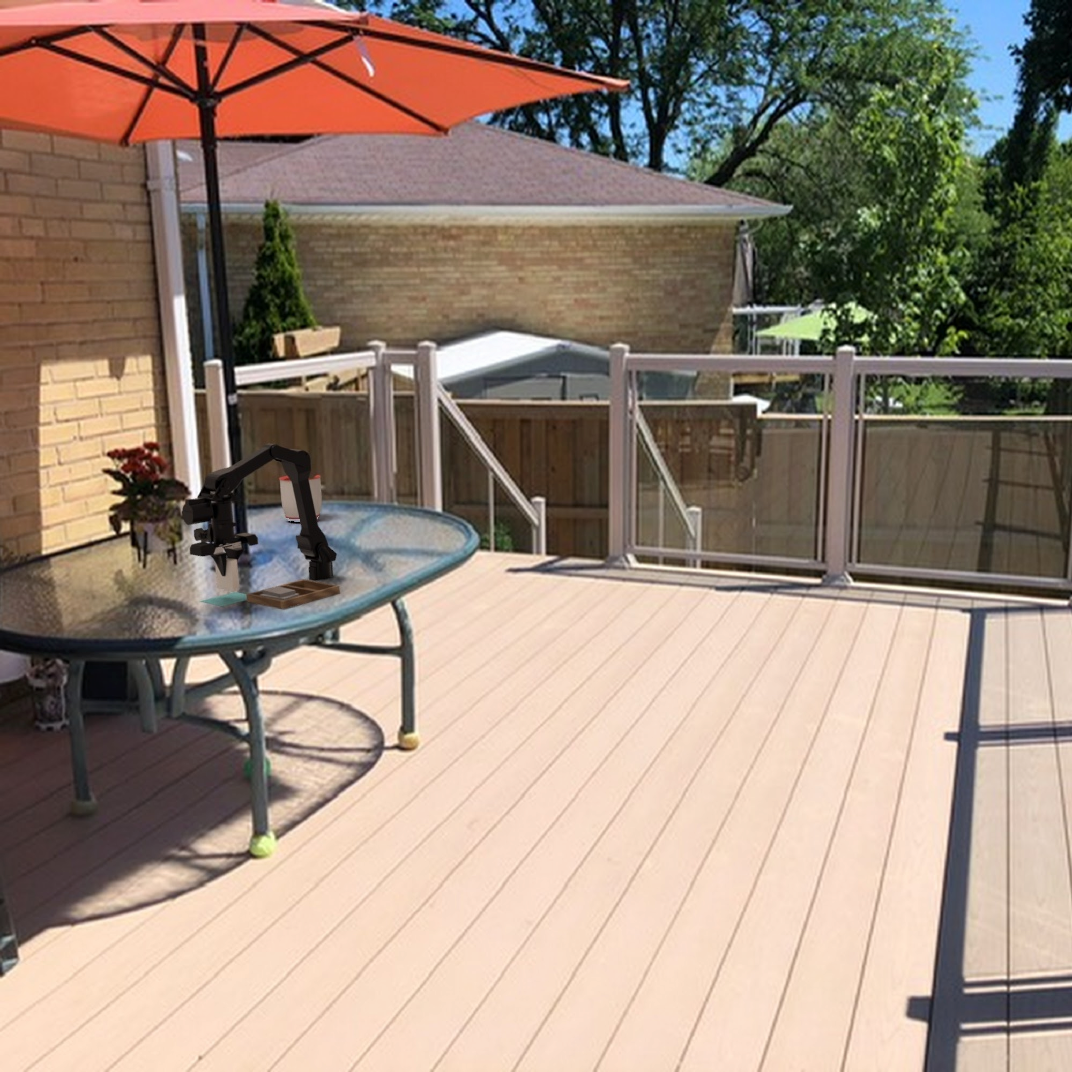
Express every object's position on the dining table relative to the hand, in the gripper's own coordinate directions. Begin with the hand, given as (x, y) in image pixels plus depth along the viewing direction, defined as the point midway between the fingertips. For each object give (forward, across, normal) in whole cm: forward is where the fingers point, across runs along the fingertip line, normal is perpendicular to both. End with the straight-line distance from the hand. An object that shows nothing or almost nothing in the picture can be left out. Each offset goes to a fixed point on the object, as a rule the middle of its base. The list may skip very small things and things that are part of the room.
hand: (227, 575), depth 302 cm
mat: (+8, 0, 0) cm, 8 cm away
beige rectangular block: (+4, 0, 0) cm, 4 cm away
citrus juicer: (+8, -95, -78) cm, 123 cm away
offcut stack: (+7, -6, +14) cm, 17 cm away
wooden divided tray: (+8, -11, +14) cm, 19 cm away
